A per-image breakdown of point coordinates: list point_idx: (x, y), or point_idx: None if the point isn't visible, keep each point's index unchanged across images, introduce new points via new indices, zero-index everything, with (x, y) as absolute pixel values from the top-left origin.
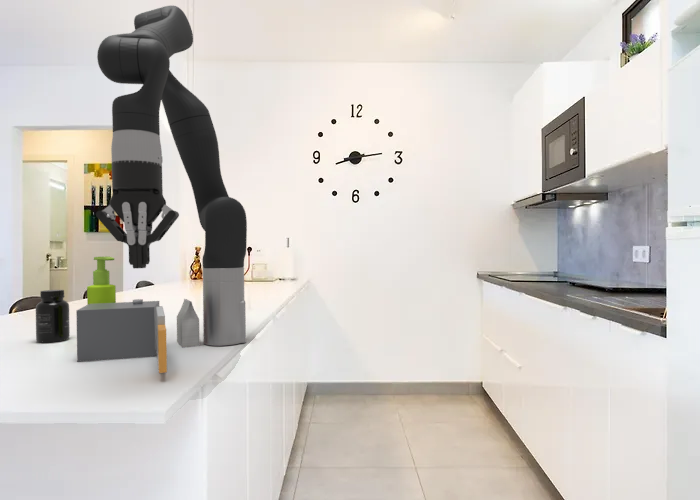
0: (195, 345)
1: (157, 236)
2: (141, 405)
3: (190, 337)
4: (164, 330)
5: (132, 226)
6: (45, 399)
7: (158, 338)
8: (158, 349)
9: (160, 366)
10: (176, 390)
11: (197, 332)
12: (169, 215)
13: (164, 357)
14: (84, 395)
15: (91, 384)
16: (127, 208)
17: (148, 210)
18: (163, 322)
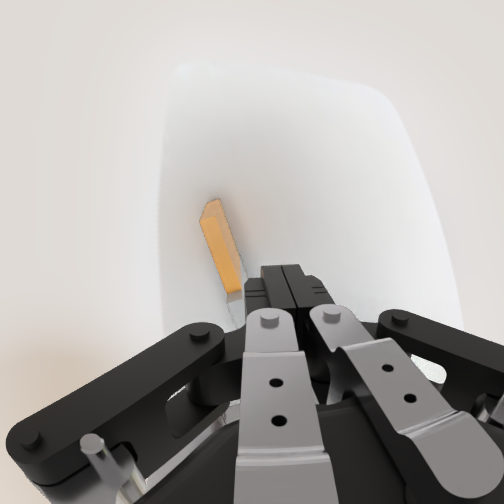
0: (231, 406)
1: (172, 337)
2: (210, 81)
3: (239, 415)
4: (202, 219)
5: (348, 355)
6: (363, 132)
7: (218, 217)
8: (225, 229)
9: (216, 201)
10: (177, 148)
11: (228, 423)
12: (49, 434)
13: (208, 206)
14: (316, 140)
15: (329, 199)
16: (447, 447)
17: (232, 499)
18: (230, 295)
